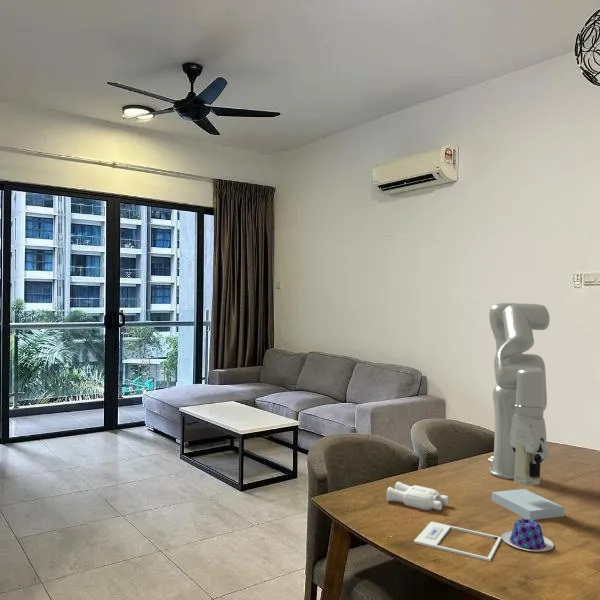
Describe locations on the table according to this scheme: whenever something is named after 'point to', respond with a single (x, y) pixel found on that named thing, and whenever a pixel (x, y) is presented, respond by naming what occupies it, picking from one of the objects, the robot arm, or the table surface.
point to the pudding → (527, 536)
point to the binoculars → (416, 496)
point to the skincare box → (523, 466)
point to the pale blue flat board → (528, 504)
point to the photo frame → (438, 531)
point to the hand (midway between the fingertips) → (527, 473)
